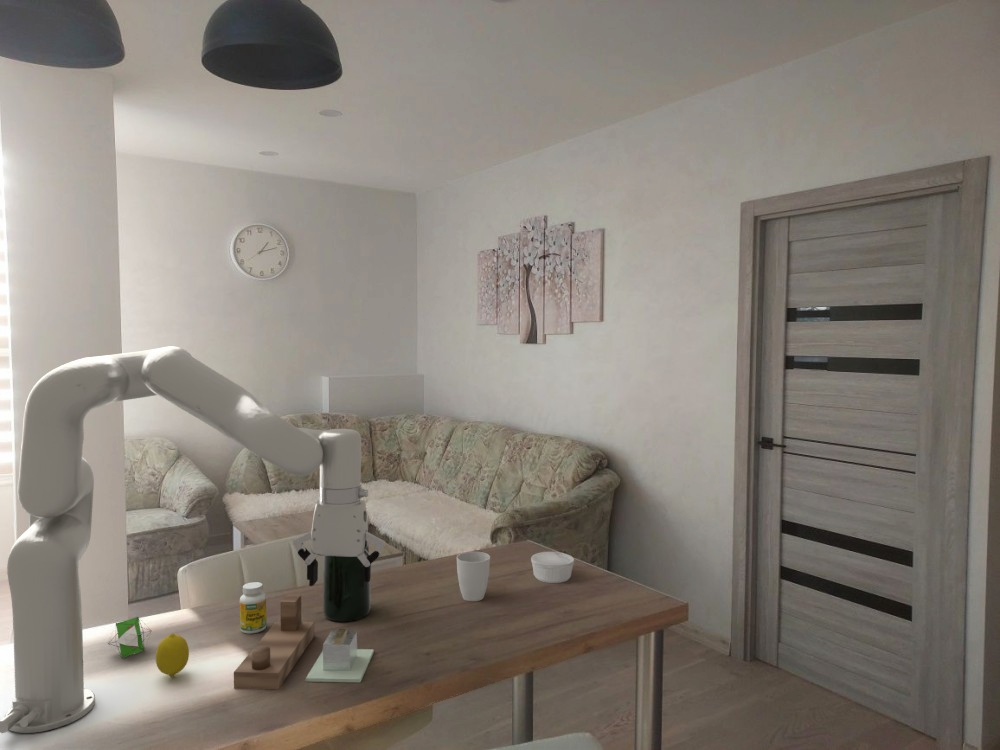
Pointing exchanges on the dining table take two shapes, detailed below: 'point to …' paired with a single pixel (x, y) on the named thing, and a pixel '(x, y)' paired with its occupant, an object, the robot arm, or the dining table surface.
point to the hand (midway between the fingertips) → (338, 584)
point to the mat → (341, 676)
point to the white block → (340, 650)
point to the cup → (473, 574)
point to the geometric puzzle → (129, 637)
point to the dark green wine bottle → (344, 589)
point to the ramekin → (552, 566)
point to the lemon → (172, 654)
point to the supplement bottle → (253, 608)
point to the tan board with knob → (276, 649)
